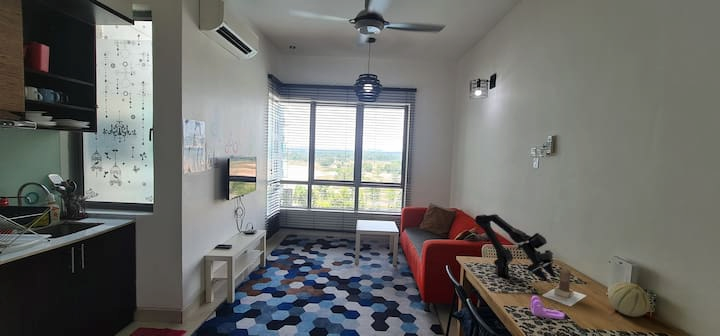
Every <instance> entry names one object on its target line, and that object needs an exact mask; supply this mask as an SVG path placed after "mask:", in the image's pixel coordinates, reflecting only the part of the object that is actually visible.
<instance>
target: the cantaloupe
mask: <svg viewBox="0 0 720 336" xmlns="http://www.w3.org/2000/svg"><path fill="white" fill-rule="evenodd" d="M607 293H608V294H607V295H608V296H607V297H608V301H609V303H610V304H611V306H612V307H613V308H614V309H615V310H616V311H618V312H619V313H620V314H623V315H625V316H628V317H633V318H638V317H642V316H644V315H646V313H648V311H649V309H650V306H651V300H650V297H649V295H648V293H647V292H646V291H645V290H644V289H643V288H642V287H640V285H638V284H634V283H631V282H629V281H627V282H625V281H623V282H617V283H614V284H613V285H611V287H610V288H609V290H608V292H607Z"/></svg>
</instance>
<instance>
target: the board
mask: <svg viewBox="0 0 720 336" xmlns="http://www.w3.org/2000/svg"><path fill="white" fill-rule="evenodd" d="M557 287H559V285H558V286H556V287H555V288H557ZM555 288H553V289H551V290H549V291H547V292H545V293H544V294H542V295H541V296H542V297H545V298H546V299H550V300H553V301H554V302H555V301H556V302H558V303H560V304H563V305H566V306H569V307H572V306H573V305H575V304H576V303H578V302H579V301H580V300H583V298H585V297H587V295H586V294H584V293H580V292H578V291H574V292H573V296H572V297H570V298H569V299H565V298H562V297H559V296H557V295H554V290H555Z"/></svg>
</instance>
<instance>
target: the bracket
mask: <svg viewBox="0 0 720 336" xmlns="http://www.w3.org/2000/svg"><path fill="white" fill-rule="evenodd" d="M530 311H531V313H532V315H533V316H537V317H544V318H548V319H549V318H550V319H557V320H564V319H565V313H563V312H562V311H559V310H557V309H548V308H544V303H543V302H542V300H541V298H540V297H539V296H538V295H532V297H530Z"/></svg>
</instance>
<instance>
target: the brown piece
mask: <svg viewBox="0 0 720 336" xmlns="http://www.w3.org/2000/svg"><path fill="white" fill-rule="evenodd" d="M558 283H559V285H558V286H559V287H558V286H556V287H557V288H556V287H555V288H554V289H555V290H554V295H557V296H559V297H562V298H565V299H569V298H570V297H572V296H573V292H574V289H571V288H570V285H571V284H570V283H571V271H570V270H569V269H565V268H560V270H559V282H558Z"/></svg>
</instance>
